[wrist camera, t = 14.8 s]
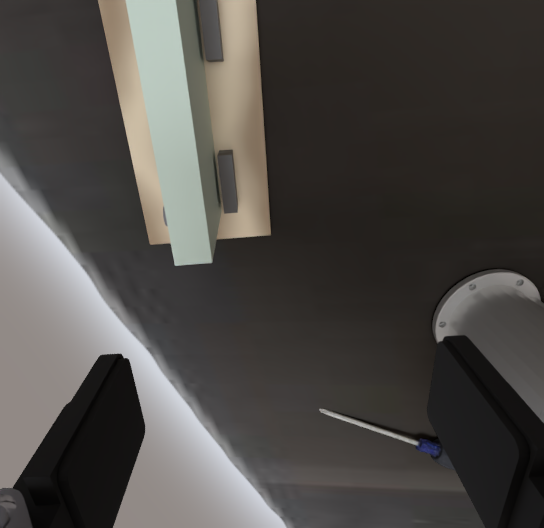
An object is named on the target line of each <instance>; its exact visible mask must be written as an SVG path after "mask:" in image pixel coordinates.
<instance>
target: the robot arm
mask: <svg viewBox="0 0 544 528" xmlns="http://www.w3.org/2000/svg"><path fill="white" fill-rule="evenodd" d="M432 330H433V335H434V338H435V340H436V342H437V349H436V356H435V362H434V368H433V375H432V381H431V387H430V394H429V400H428V406H427V414H428V418H429V421H430V423H431V425H432V427H433V429H434V430H435V432H436V434H437V436H438V438H439V440H440V442H441V444H442V446H443V448H444V449H445V451H446V453H447V455H448V457H449V459H450V461H451V463H452V465H453V467H454V468H455V470H456V472H457V474H458V476H459V478H460V480H461V482H462V484H463V486H464V487H465V489H466V491H467V493H468V495H469V497H470V499H471V501H472V503H473V505H474V506H475V508H476V510H477V512H478V514H479V516H480V518H481V520H482V522H483V524H484V525H485V527H486V528H544V303H543V302H541V298H540V294H539V292H538V289H537V288H536V287H535V285H534V284H533V283H532V282H531V281H530V280H528V279H527V278H526V277H524V276H522V275H521V274H519V273H517V272H514V271H511V270H504V269H494V270H487V271H483V272H479V273H476V274H474V275H471V276H469V277H467V278H465V279H464V280H462V281H460V282H459V283H458V284H456V285H455V286H454V287H453V288H451V289H450V290H449V291H448V293H447V294H446V295H445V296H444V297H443V298H442V300H441V301H440V303H439V305H438V306H437V309H436V311H435V313H434V317H433V322H432ZM144 435H145V423H144V419H143V415H142V411H141V406H140V402H139V398H138V394H137V390H136V386H135V382H134V378H133V374H132V370H131V366H130V362H129V359H127V358H123V356H122V354H107V355H100V356H99V358H98V359H97V361H96V362H95V364H94V365H93V367H92V369H91V370H90V372H89V374H88V375H87V377H86V378H85V380H84V381H83V383H82V385H81V386H80V388H79V390H78V391H77V393H76V394H75V396H74V397H73V399H72V400H71V402H69V403H68V404H67V405H66V406H65V407H64V408H63V410H62V411H61V413H60V414H59V416H58V417H57V419H56V421H55V422H54V424H53V425H52V427H51V429H50V430H49V432H48V433H47V435H46V436H45V438H44V439H43V441H42V443H41V444H40V446H39V447H38V449H37V450H36V452H35V454H34V455H33V457H32V458H31V460H30V461H29V463H28V465H27V466H26V468H25V469H24V471H23V472H22V474H21V475H20V477H19V479H18V480H17V482H16V483H15V485H14V487H13V488H2V489H0V528H113V525H114V523H115V520H116V517H117V514H118V511H119V508H120V505H121V502H122V499H123V496H124V494H125V491H126V488H127V485H128V482H129V479H130V476H131V473H132V470H133V467H134V464H135V462H136V459H137V456H138V453H139V450H140V447H141V444H142V441H143V438H144Z"/></svg>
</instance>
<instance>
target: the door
mask: <svg viewBox="0 0 544 528" xmlns="http://www.w3.org/2000/svg"><path fill="white" fill-rule="evenodd" d="M126 6H127V11H128V16H129V22H130V27H131V33H132V38H133V43H134V49H135V54H136V59H137V65H138V70H139V75H140V81H141V86H142V91H143V97H144V102H145V108H146V113H147V118H148V124H149V129H150V134H151V140H152V145H153V150H154V156H155V161H156V167H157V172H158V177H159V183H160V188H161V193H162V199H163V204H164V207H163V218H164V222H165V225H166V226H168V231H169V236H170V242H171V247H172V252H173V258H174V263H175V266H179V265H191V264H203V263H212V262H213V256H214V250H215V245H216V239H217V234H218V228H219V223H220V217H221V212H222V209H221V200H220V192H219V184H218V175H217V167H216V159H215V150H214V142H213V134H212V125H211V117H210V108H209V100H208V92H207V83H206V75H205V67H204V58H203V50H202V42H201V33H200V25H199V16H198V8H197V0H126Z"/></svg>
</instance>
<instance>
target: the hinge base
mask: <svg viewBox="0 0 544 528" xmlns="http://www.w3.org/2000/svg"><path fill="white" fill-rule="evenodd" d="M98 2H99V7H100V12H101V16H102V21H103V26H104V31H105V35H106V40H107V45H108V49H109V54H110V59H111V63H112V68H113V73H114V77H115V82H116V87H117V92H118V96H119V101H120V106H121V110H122V115H123V120H124V124H125V129H126V134H127V139H128V143H129V148H130V153H131V157H132V162H133V167H134V171H135V176H136V181H137V185H138V190H139V195H140V200H141V204H142V209H143V214H144V218H145V223H146V228H147V232H148V237H149V242H150V245H152V244H165V243H171V242H170V236H169V231H168V226H166V225H165V222H164V218H163V207H164V204H163V199H162V193H161V188H160V183H159V177H158V172H157V167H156V161H155V156H154V150H153V145H152V140H151V134H150V129H149V124H148V118H147V113H146V108H145V102H144V97H143V91H142V86H141V81H140V75H139V70H138V65H137V59H136V54H135V49H134V43H133V38H132V33H131V27H130V22H129V16H128V11H127V6H126V0H98ZM197 8H198V16H199V25H200V33H201V42H202V50H203V58H204V67H205V75H206V83H207V92H208V100H209V108H210V117H211V125H212V134H213V142H214V150H215V159H216V167H217V175H218V184H219V192H220V200H221V209H222V212H221V217H220V223H219V228H218V234H217V239H228V238H240V237H253V236H265V235H271V228H270V213H269V197H268V182H267V166H266V150H265V135H264V119H263V104H262V88H261V72H260V57H259V41H258V25H257V10H256V0H197Z"/></svg>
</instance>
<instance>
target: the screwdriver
mask: <svg viewBox="0 0 544 528" xmlns="http://www.w3.org/2000/svg"><path fill="white" fill-rule="evenodd" d="M319 410H320V411H321V412H322V413H324V414H327V415H329V416H332V417H335V418H338V419H341V420H344V421H347V422H350V423H353V424H356V425H359V426H361V427H364V428H367V429H370V430H373V431H376V432H379V433H382V434H385V435H388V436H391V437H394V438H397V439H399V440H402V441H405V442H408V443H411V444H414V445H416V449H417V450H419V451H421V452H425V453H429V454H430V455H431V457H432V459H433V460H434V461H435V462H437V463H438V464H440V465H442V466H444V467H446V468H449V469H452V470H455V468H454V467H453V465H452V463H451V461H450V459H449V457H448V455H447V453H446V451H445V449H444V448H443V446H442V444H441V442H440V440H439V439H436V440H434V441H433V442H431V441H430V440H428V439H422V438H420V439H419V440H415V439H412V438H409V437H406V436H403V435H400V434H397V433H394V432H391V431H388V430H385V429H383V428H380V427H377V426H374V425H371V424H368V423H365V422H362V421H360V420H357V419H354V418H351V417H348V416H345V415H342V414H339V413H336V412H333V411H330V410H327V409H319Z"/></svg>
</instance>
